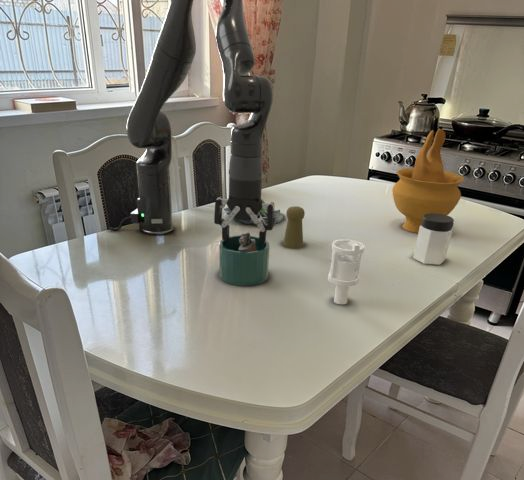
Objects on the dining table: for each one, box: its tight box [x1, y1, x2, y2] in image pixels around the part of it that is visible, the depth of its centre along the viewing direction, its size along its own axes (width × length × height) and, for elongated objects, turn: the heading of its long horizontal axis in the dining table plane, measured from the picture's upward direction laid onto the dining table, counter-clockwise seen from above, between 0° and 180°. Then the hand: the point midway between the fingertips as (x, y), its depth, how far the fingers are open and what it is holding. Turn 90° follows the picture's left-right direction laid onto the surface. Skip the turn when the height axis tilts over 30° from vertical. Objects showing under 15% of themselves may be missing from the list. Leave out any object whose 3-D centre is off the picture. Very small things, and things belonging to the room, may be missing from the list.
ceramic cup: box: [218, 234, 270, 287], centre depth 125 cm, size 12×12×8 cm
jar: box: [412, 213, 455, 266], centre depth 139 cm, size 9×8×12 cm
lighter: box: [239, 231, 257, 252], centre depth 124 cm, size 8×3×10 cm, turn 166°
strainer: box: [327, 238, 365, 305], centre depth 113 cm, size 7×7×15 cm
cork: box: [282, 205, 306, 249], centre depth 145 cm, size 6×6×11 cm
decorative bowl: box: [391, 128, 465, 234], centre depth 158 cm, size 21×21×30 cm
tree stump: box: [223, 198, 284, 226], centre depth 164 cm, size 18×20×18 cm
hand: (243, 243), depth 123 cm, fingers open, 8 cm apart
